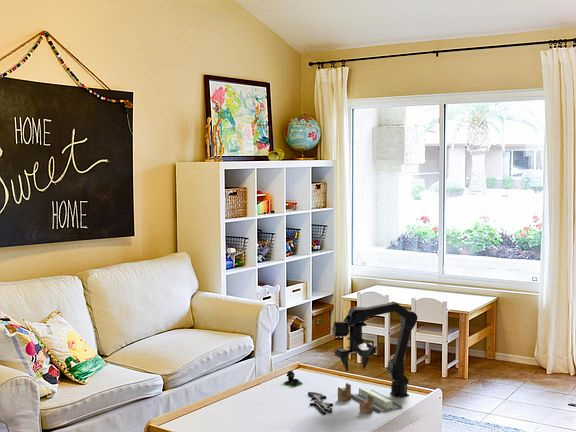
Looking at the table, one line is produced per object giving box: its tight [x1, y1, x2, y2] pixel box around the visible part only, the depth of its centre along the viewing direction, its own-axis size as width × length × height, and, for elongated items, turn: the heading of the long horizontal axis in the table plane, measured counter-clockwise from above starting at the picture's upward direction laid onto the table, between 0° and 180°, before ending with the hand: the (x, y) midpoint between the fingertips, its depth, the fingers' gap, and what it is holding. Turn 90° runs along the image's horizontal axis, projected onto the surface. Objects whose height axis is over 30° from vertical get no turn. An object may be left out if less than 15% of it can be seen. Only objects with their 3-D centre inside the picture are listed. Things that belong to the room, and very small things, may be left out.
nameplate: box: [307, 391, 334, 416], centre depth 319 cm, size 27×2×10 cm
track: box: [351, 388, 403, 414], centre depth 321 cm, size 12×24×2 cm, turn 27°
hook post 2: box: [359, 395, 374, 415], centre depth 308 cm, size 5×3×7 cm, turn 117°
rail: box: [358, 386, 392, 409], centre depth 321 cm, size 22×3×3 cm, turn 27°
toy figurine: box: [283, 370, 304, 388], centre depth 348 cm, size 10×10×6 cm
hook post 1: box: [337, 382, 352, 403], centre depth 324 cm, size 5×3×7 cm, turn 117°
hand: (355, 369), depth 326 cm, fingers open, 9 cm apart
